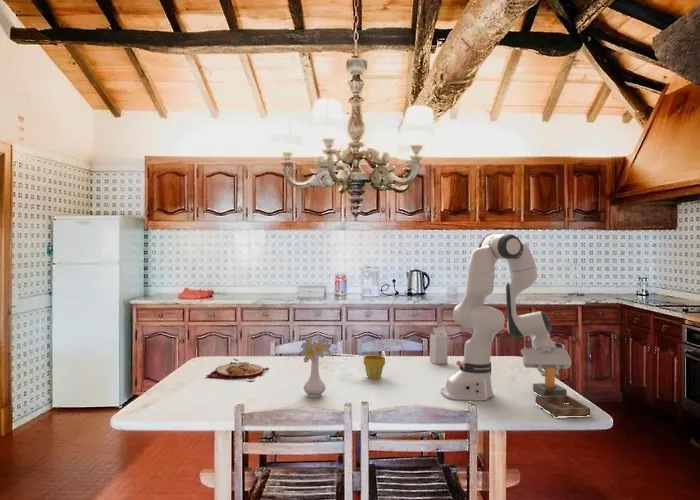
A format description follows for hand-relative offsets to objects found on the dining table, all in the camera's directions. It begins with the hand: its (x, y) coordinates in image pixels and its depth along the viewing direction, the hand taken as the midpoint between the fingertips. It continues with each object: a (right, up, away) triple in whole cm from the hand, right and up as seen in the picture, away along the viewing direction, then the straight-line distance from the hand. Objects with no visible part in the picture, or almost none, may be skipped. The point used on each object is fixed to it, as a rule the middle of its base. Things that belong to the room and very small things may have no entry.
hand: (550, 375), depth 224 cm
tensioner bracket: (0, -9, +1) cm, 9 cm away
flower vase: (-101, -8, -4) cm, 102 cm away
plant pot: (-75, -7, +27) cm, 80 cm away
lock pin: (0, -9, +1) cm, 9 cm away
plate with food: (-140, -7, +32) cm, 144 cm away
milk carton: (-39, -7, +57) cm, 70 cm away
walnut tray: (-3, -9, -19) cm, 21 cm away
